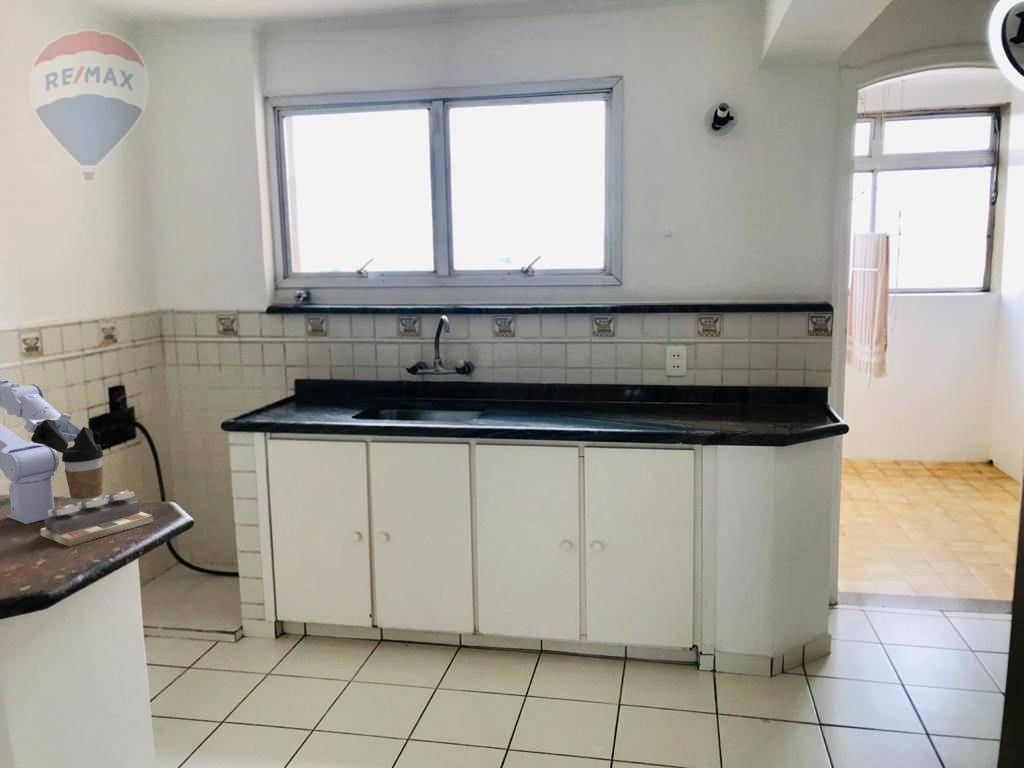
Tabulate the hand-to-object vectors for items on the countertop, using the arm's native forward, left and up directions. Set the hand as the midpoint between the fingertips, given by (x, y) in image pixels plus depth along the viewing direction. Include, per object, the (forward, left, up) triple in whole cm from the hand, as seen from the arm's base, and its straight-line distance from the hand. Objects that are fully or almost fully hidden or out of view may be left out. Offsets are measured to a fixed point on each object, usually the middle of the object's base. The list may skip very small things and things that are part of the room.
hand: (80, 451), depth 171 cm
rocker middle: (-2, +2, -12) cm, 12 cm away
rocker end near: (-2, -4, -12) cm, 13 cm away
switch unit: (-1, +2, -17) cm, 18 cm away
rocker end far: (-2, +8, -12) cm, 15 cm away
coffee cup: (-16, +8, -18) cm, 25 cm away
